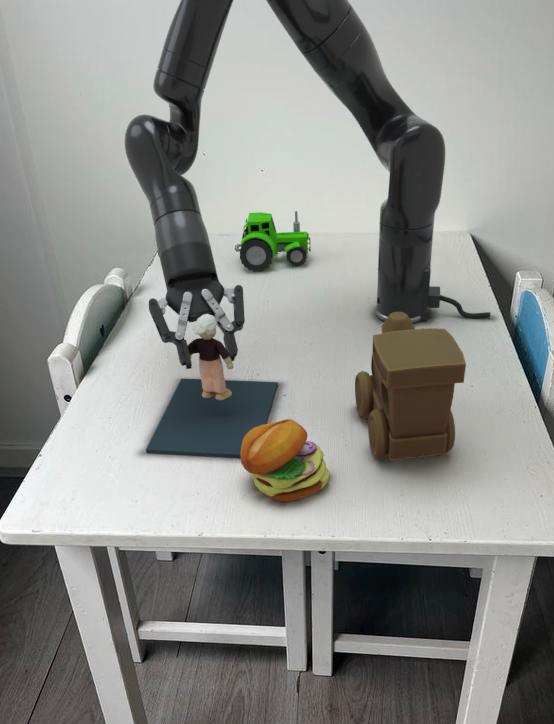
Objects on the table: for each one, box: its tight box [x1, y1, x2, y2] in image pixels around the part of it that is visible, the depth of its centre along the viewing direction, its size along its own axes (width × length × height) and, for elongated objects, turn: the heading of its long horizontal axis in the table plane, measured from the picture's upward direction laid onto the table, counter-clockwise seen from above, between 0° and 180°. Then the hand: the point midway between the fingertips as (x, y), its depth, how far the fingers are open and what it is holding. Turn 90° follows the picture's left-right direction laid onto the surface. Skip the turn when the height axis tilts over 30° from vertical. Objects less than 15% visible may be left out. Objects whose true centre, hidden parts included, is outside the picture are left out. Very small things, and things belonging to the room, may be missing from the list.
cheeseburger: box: [240, 418, 330, 503], centre depth 97 cm, size 10×11×10 cm
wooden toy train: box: [354, 312, 467, 461], centre depth 102 cm, size 20×11×17 cm, turn 6°
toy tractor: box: [234, 210, 312, 273], centre depth 157 cm, size 11×16×10 cm
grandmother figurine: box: [187, 314, 235, 400], centre depth 106 cm, size 8×4×13 cm, turn 79°
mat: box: [145, 378, 279, 459], centre depth 112 cm, size 16×20×1 cm
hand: (210, 363), depth 105 cm, fingers closed on grandmother figurine, 5 cm apart
